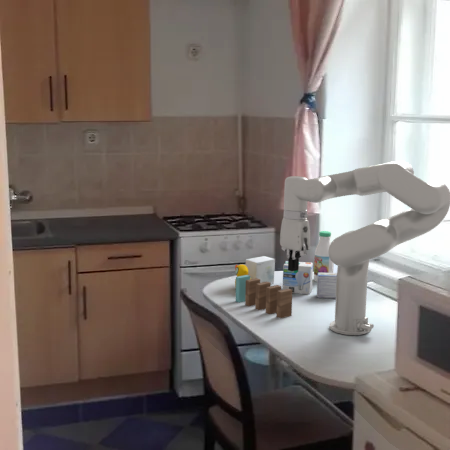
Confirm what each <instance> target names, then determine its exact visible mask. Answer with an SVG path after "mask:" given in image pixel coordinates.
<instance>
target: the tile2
mask: <svg viewBox="0 0 450 450" xmlns="http://www.w3.org/2000/svg"><path fill="white" fill-rule="evenodd" d="M279 290H282V286H281V285H279V284H274V285H271V286H270V287H266V309H265V314H268V315H272V314H277V291H279Z"/></svg>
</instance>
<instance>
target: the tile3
mask: <svg viewBox="0 0 450 450" xmlns="http://www.w3.org/2000/svg"><path fill="white" fill-rule="evenodd" d="M270 286H272V285H271V283H270V282H262V283H257V284H256V300H255V305H254V306H255V307H254V309H255V310H257V311H262V310H266V287H270Z"/></svg>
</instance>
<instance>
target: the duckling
mask: <svg viewBox="0 0 450 450" xmlns="http://www.w3.org/2000/svg"><path fill="white" fill-rule="evenodd" d="M245 265H246V264H243V263H242V264H241V263H240V264H239V265H238V264H235V266H234V270H235V271H234V272H235V275H236V277H238V276H244V275H248V268H247V266H245ZM250 279H251V278H250ZM234 280H235V281H234V286H235V288H236V278H235V279H234Z"/></svg>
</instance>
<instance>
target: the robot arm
mask: <svg viewBox="0 0 450 450" xmlns="http://www.w3.org/2000/svg"><path fill="white" fill-rule="evenodd" d="M283 191H284V192H283V194H284V195H283V196H284V197H283V218H282V220H281V225H280V235H279V236H280V237H279V244H280V246H281V250H282V251H284V252H285V253H286V258H287V259H288V260H287V261H288V270H289V271H297V270H298V269H299V262H300V261H299V260H300V259H301V257H302V256H306V255H307V254H308V250H310V249H311V228H310V221H309V220H308V217H309V213H308V205H309V204H308V202H309V203H320V202H321V203H322V202H324V201H327V200H330V199H335V198H340V197H345V196H346V197H347V196H353V195H354V196H355V195H357V196H361V197H363V196H365V197H366V196H371V195H377V194H382V193H388V194H389V195H390V196H392V197H393V198H395V199H396V200H397V201H399V202H401V203H402V204H404V205H406V206H407V207H408V208H409V209H406V210H404V211H402V212H400V213H398V214H395V215H392V216H389V217H386V218H384V219H379V220H376V221H374V222H372V223H369V224H367V225H366V226H363V227H361V228H358V229H356V230H349V231H347V232H345V233H342V234H341V235H339V236H337V237H335V238H334V239H333V240H332V241H331V244H330V246H329V250H328V253H329V257H330V259H331V261H332V262H333V263H334V265H335V266H337V269H336V273H337V280H336V298H335V303H334V304H335V305H334V306H335V307H334V320H333V321H331V322H330V323H329V329H330V330H331V331H332V332H334V333H337V334H340V335H347V336H362V335H365V334H368V333H370V332H371V331H372V329H374V326H375V325H374V324H373V323H369V317H366V314H367V313H366V312H367V311H366V310H367V293H368V279H369V276H368V275H369V265H370V260H372V259H374V258H377V257H380V256H382V255H385V254H386V253H388V252H389V251H391V250H392V249H394V248H396V247H397V246H398V245H400V244H404V243H406V242H408V241H411V240H413V239H416V238H418V237H420V236H423V235H425V234H427V233H429V232H431V231H432V230H433V229H435V228H437V226H439V225H440V224H441V223H442V222H443V220H445V218H446V216H447V214H448V212H449V210H450V189H449V187H448V186H447V185H446V184H444V183H443V182H440V181H438V180H437V181H436V180H435V181H429V182H426V181H425V180H423V179H421V178H419V177H418V176H417V175H415V171H414V169H413V167H412V165H411V164H409V162H408V161H407V162H406V161H405V160H396V161H395V160H394V161H390V162H384V163H380V164H373V165H370V166H369V165H368V166H363V167H358V168H355V169H353V170H349V171H346V172H339V173H338V172H337V173H334V174H330V175H329V174H328V175H324V176H319V177H318V176H317V177H315V178H310V179H309V178H307V177H305V176H298V175H297V176H295V175H294V176H293V175H291V176H287V177H286V178H285V180H284V190H283Z"/></svg>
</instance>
